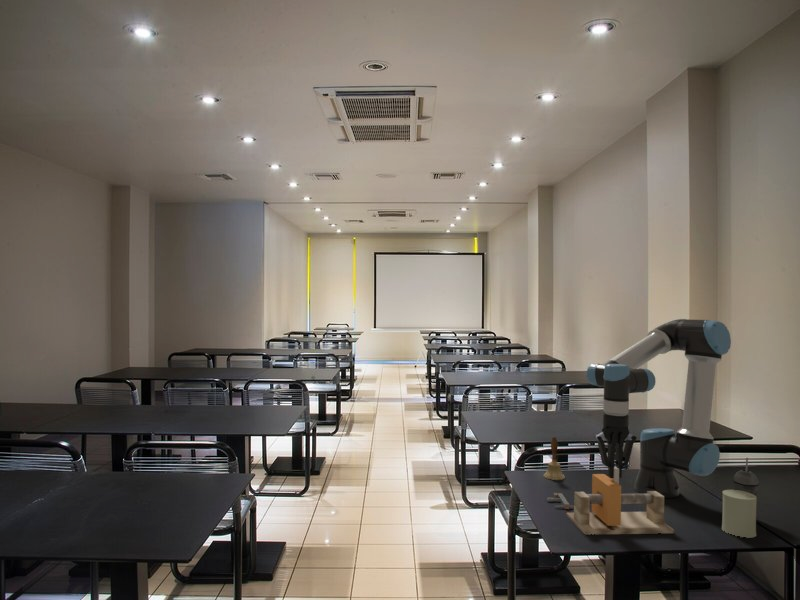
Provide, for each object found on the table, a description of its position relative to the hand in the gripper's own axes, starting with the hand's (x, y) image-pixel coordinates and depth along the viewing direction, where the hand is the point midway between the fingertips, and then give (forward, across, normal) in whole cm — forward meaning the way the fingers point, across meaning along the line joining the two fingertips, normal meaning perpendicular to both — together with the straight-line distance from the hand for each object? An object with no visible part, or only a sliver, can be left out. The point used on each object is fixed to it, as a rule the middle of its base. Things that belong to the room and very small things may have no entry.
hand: (614, 488), depth 179 cm
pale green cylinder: (+12, -36, +7) cm, 39 cm away
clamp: (+12, +10, -17) cm, 23 cm away
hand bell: (+12, +2, -48) cm, 49 cm away
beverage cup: (+12, -46, -4) cm, 48 cm away
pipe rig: (+11, -2, 0) cm, 12 cm away
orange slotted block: (+9, +3, 0) cm, 10 cm away
